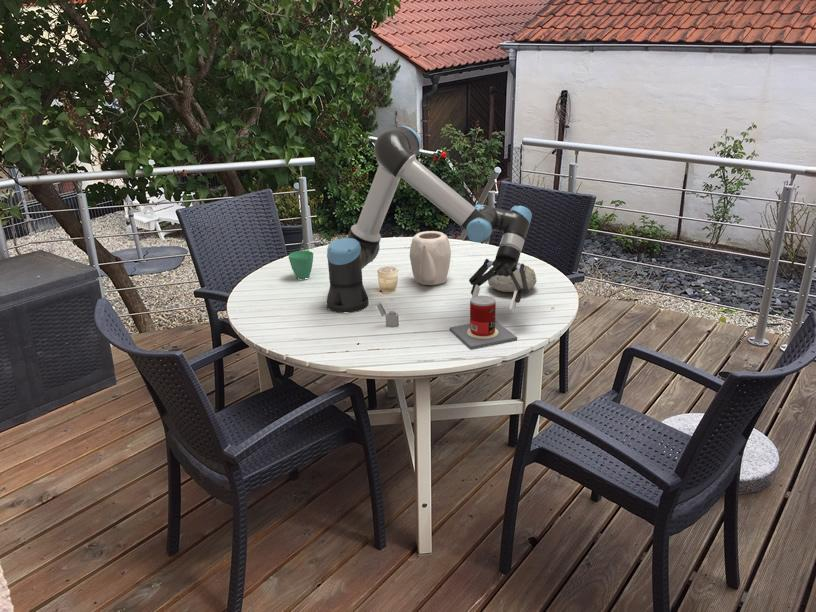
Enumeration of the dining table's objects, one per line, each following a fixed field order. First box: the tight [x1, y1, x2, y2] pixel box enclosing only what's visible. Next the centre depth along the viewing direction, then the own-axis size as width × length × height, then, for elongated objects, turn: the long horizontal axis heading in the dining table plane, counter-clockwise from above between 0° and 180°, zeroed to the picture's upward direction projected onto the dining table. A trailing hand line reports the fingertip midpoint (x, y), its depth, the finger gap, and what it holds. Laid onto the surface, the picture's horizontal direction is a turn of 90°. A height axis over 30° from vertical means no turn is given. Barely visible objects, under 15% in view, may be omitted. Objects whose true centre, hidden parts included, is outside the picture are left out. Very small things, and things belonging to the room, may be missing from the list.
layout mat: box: [449, 320, 518, 350], centre depth 218 cm, size 16×16×1 cm
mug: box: [288, 248, 314, 279], centre depth 277 cm, size 15×10×10 cm
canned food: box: [469, 295, 497, 336], centre depth 216 cm, size 8×8×11 cm
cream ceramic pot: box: [409, 230, 452, 286], centre depth 263 cm, size 16×27×19 cm, turn 169°
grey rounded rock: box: [487, 262, 537, 293], centre depth 254 cm, size 18×18×10 cm
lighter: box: [375, 302, 400, 328], centre depth 227 cm, size 7×2×8 cm, turn 77°
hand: (491, 307), depth 221 cm, fingers open, 13 cm apart
